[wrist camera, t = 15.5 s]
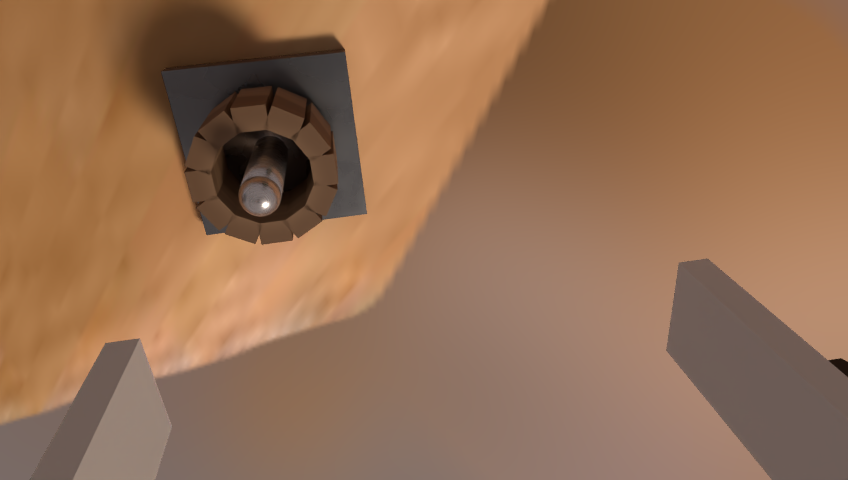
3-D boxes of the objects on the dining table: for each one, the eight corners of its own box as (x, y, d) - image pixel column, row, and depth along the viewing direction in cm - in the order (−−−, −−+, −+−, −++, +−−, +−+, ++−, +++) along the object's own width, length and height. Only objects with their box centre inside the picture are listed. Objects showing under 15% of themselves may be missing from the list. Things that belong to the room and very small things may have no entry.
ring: (219, 219, 43) (207, 252, 38) (186, 95, 39) (168, 115, 34) (343, 203, 44) (346, 233, 39) (325, 79, 40) (324, 97, 35)
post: (209, 228, 45) (176, 308, 35) (165, 68, 40) (112, 110, 30) (366, 207, 46) (377, 279, 37) (344, 48, 41) (350, 84, 31)
